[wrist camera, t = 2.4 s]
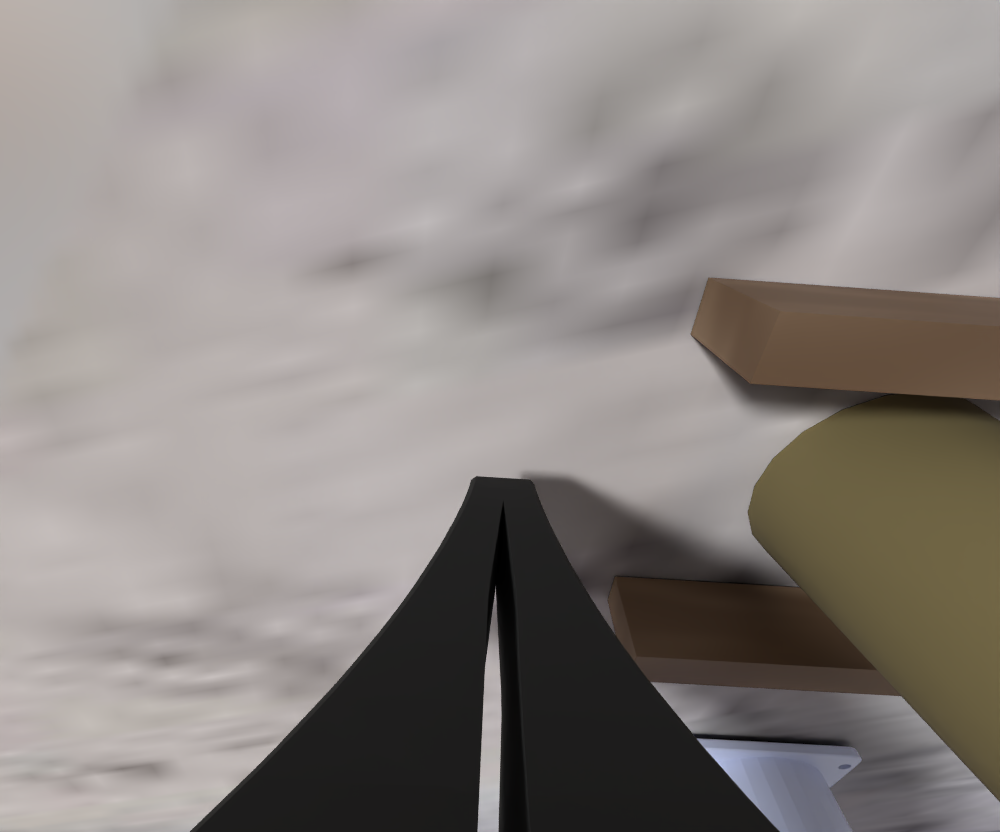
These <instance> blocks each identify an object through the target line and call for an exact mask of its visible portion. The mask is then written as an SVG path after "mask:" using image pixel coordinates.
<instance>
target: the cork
mask: <svg viewBox="0 0 1000 832" xmlns="http://www.w3.org/2000/svg"><path fill="white" fill-rule="evenodd" d="M748 515H749V520H750V525H751V530H752V535H753V536H754V537H755V538H756V539H757V541H758V542H759V543H760V544H761V545H762V547H763V548H764V549H765V550H766V551H767V552H768V554H769V555H770V556H771V557H772V558H773V559H774V560H775V561H776V562H777V563H778V564H779V565H780V566H781V567H782V569H783V570H784V571H785V572H786V573H787V574H788V575H789V576H790V577H791V578H792V579H793V580H794V581H795V583H796V584H797V585H798V586H799V587H800V588H801V589H802V590H803V591H804V592H805V593H806V594H807V595H808V596H809V598H810V599H811V600H812V601H813V602H814V603H815V604H816V605H817V606H818V607H819V608H820V609H821V610H822V611H823V613H824V614H825V615H826V616H827V617H828V618H829V619H830V620H831V621H832V622H833V623H834V624H835V625H836V627H837V628H838V629H839V630H840V631H841V632H842V633H843V634H844V635H845V636H846V637H847V638H848V639H849V640H850V642H851V643H852V644H853V645H854V646H855V647H856V648H857V649H858V650H859V651H860V652H861V653H862V654H863V655H864V657H865V658H866V659H867V660H868V661H869V662H870V663H871V664H872V665H873V666H874V667H875V668H876V669H877V671H878V672H879V673H880V674H881V675H882V676H883V677H884V678H885V679H886V680H887V681H888V682H889V683H890V684H891V686H892V687H893V688H894V689H895V690H896V691H897V692H898V693H899V694H900V695H901V696H902V697H903V698H904V699H905V701H906V702H907V703H908V704H909V705H910V706H911V707H912V708H913V709H914V710H915V711H916V712H917V713H918V715H919V716H920V717H921V718H922V719H923V720H924V721H925V722H926V723H927V724H928V725H929V726H930V727H931V728H932V730H933V731H934V732H935V733H936V734H937V735H938V736H939V737H940V738H941V739H942V740H943V741H944V742H945V743H946V745H947V746H948V747H949V748H950V749H951V750H952V751H953V752H954V753H955V754H956V755H957V756H958V757H959V759H960V760H961V761H962V762H963V763H964V764H965V765H966V766H967V767H968V768H969V769H970V770H971V771H972V772H973V774H974V775H975V776H976V777H977V778H978V779H979V780H980V781H981V782H982V783H983V784H984V785H985V786H986V787H987V789H988V790H989V791H990V792H991V793H992V794H993V795H994V796H995V797H996V798H997V799H998V800H999V801H1000V421H999V420H997V419H996V418H994V417H993V416H991V415H990V414H988V413H987V412H985V411H983V410H982V409H980V408H979V407H977V406H976V405H974V404H973V403H971V402H970V401H968V400H967V399H963V398H957V397H942V396H927V395H912V394H896V395H886V396H883V397H880V398H877V399H874V400H871V401H868V402H865V403H861V404H858V405H855V406H852V407H849V408H846V409H843V410H841V411H839V412H838V413H836V414H834V415H832V416H830V417H829V418H827V419H825V420H823V421H822V422H820V423H818V424H816V425H814V426H813V427H811V428H809V429H807V430H806V431H804V432H803V433H801V434H800V435H799V436H798V437H797V438H796V439H795V440H793V441H792V442H791V443H790V444H789V445H788V446H787V447H786V448H784V449H783V450H782V451H781V452H780V453H779V454H778V455H777V456H775V457H774V458H773V460H772V461H771V463H770V464H769V465H768V467H767V468H766V470H765V471H764V473H763V474H762V476H761V477H760V479H759V480H758V482H757V483H756V485H755V486H754V490H753V494H752V498H751V502H750V506H749V510H748Z"/></svg>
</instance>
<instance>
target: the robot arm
mask: <svg viewBox="0 0 1000 832" xmlns="http://www.w3.org/2000/svg"><path fill="white" fill-rule="evenodd" d="M495 587H496V599H497V618H498V638H499V657H500V676H501V706H502V723H501V763H500V801H499V832H853V831H852V829H851V827H850V825H849V824H848V822H847V820H846V818H845V816H844V814H843V812H842V810H841V809H840V807H839V805H838V803H837V801H836V799H835V797H834V795H833V793H832V792H831V790H830V787H832V786H833V785H834V784H835V783H836V782H838V781H839V780H840V779H841V778H842V777H844V776H845V775H846V774H847V773H848V772H850V771H851V770H852V769H853V768H854V767H856V766H857V765H858V764H859V763H860V762H861V761H862V758H861V756H860V755H859V753H858V751H857V750H856V749H855V748H853V747H848V746H830V745H811V744H793V743H775V742H756V741H738V740H720V739H702V738H696V737H695V736H694V735H693V734H692V733H691V731H690V730H689V729H688V728H687V726H686V725H685V724H684V723H683V722H682V720H681V719H680V718H679V717H678V715H677V714H676V713H675V712H674V711H673V709H672V708H671V707H670V706H669V704H668V703H667V702H666V701H665V700H664V698H663V697H662V696H661V695H660V693H659V692H658V691H657V690H656V689H655V687H654V686H653V685H652V684H651V682H650V681H649V680H648V679H647V677H646V676H645V675H644V673H643V672H642V671H641V669H640V668H639V667H638V665H637V664H636V663H635V661H634V660H633V659H632V657H631V656H630V654H629V653H628V652H627V650H626V649H625V648H624V646H623V645H622V644H621V642H620V641H619V639H618V638H617V636H616V635H615V634H614V632H613V631H612V629H611V628H610V626H609V625H608V624H607V622H606V621H605V619H604V618H603V616H602V615H601V613H600V612H599V610H598V608H597V607H596V605H595V604H594V602H593V601H592V599H591V598H590V596H589V594H588V593H587V591H586V589H585V588H584V586H583V584H582V583H581V581H580V579H579V578H578V576H577V574H576V573H575V571H574V569H573V567H572V566H571V564H570V562H569V560H568V558H567V556H566V555H565V553H564V551H563V549H562V547H561V545H560V543H559V541H558V539H557V537H556V536H555V534H554V531H553V529H552V527H551V525H550V523H549V521H548V519H547V516H546V514H545V512H544V510H543V507H542V505H541V502H540V500H539V497H538V494H537V492H536V489H535V485H534V483H533V482H532V481H531V480H526V479H510V478H494V477H478V476H476V477H475V478H473V479H472V480H471V483H470V486H469V489H468V492H467V494H466V497H465V499H464V502H463V504H462V506H461V508H460V510H459V512H458V514H457V516H456V518H455V520H454V522H453V524H452V525H451V527H450V529H449V531H448V532H447V534H446V536H445V538H444V540H443V541H442V543H441V545H440V547H439V548H438V550H437V552H436V553H435V555H434V556H433V558H432V559H431V561H430V562H429V564H428V565H427V567H426V568H425V570H424V572H423V573H422V575H421V576H420V578H419V579H418V581H417V582H416V584H415V585H414V587H413V588H412V589H411V591H410V592H409V594H408V595H407V596H406V598H405V599H404V601H403V602H402V603H401V605H400V606H399V607H398V609H397V610H396V611H395V613H394V614H393V615H392V616H391V618H390V619H389V620H388V622H387V623H386V624H385V626H384V627H383V628H382V629H381V631H380V632H379V633H378V634H377V636H376V637H375V638H374V639H373V640H372V642H371V643H370V644H369V645H368V646H367V648H366V649H365V650H364V651H363V652H362V654H361V655H360V656H359V657H358V658H357V660H356V661H355V662H354V663H353V664H352V666H351V667H350V668H349V669H348V670H347V671H346V673H345V674H344V675H343V676H342V677H341V678H340V679H339V681H338V682H337V683H336V684H335V685H334V686H333V687H332V688H331V689H330V691H329V692H328V693H327V694H326V695H325V696H324V697H323V698H322V699H321V700H320V701H319V702H318V703H317V704H316V705H315V707H314V708H313V709H312V710H311V711H310V712H309V713H308V714H307V715H306V716H305V717H304V718H303V719H302V720H301V721H300V722H299V724H298V725H297V726H296V727H295V728H294V729H293V730H292V731H291V732H290V733H289V734H288V735H287V736H286V737H285V738H284V739H283V741H282V742H281V743H280V744H279V745H278V746H277V747H276V748H275V749H274V750H273V751H272V752H271V753H270V754H269V755H268V756H267V757H266V758H265V759H264V760H263V761H262V762H261V763H260V764H259V765H258V766H257V767H256V768H255V769H254V770H253V771H252V772H251V773H250V774H249V775H248V776H247V777H246V778H245V779H244V780H243V781H242V782H241V783H240V784H239V785H238V786H237V787H236V788H235V789H233V790H232V791H231V792H230V793H229V794H228V795H227V796H226V797H225V798H224V799H223V800H222V801H221V802H220V803H219V804H218V805H217V806H216V807H215V808H214V809H213V810H212V811H211V812H210V813H209V814H208V815H207V816H206V817H204V818H203V819H202V820H201V821H200V822H199V823H198V824H197V825H196V826H195V827H194V828H193V829H192V830H191V831H190V832H477V828H478V805H479V783H480V761H481V739H482V717H483V695H484V674H485V662H486V655H487V647H488V640H489V632H490V625H491V617H492V610H493V602H494V595H495Z"/></svg>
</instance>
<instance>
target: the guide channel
mask: <svg viewBox="0 0 1000 832" xmlns="http://www.w3.org/2000/svg"><path fill="white" fill-rule="evenodd" d="M691 335H692V336H693V337H694V338H696V339H697V340H698V341H699V342H700V343H702V344H703V345H704V346H705V347H706V348H708V349H709V350H710V351H711V352H712V353H714V354H715V355H716V356H717V357H719V358H720V359H721V360H722V361H723V362H725V363H726V364H727V365H728V366H729V367H731V368H732V369H733V370H734V371H735V372H737V373H738V374H739V375H740V376H741V377H743V378H744V379H745V380H746V381H747V382H749V383H750V384H762V385H777V386H792V387H807V388H822V389H837V390H852V391H867V392H882V393H897V394H912V395H927V396H942V397H957V398H972V399H987V400H1000V298H992V297H977V296H963V295H949V294H935V293H920V292H906V291H892V290H878V289H863V288H849V287H835V286H821V285H806V284H792V283H778V282H763V281H749V280H735V279H721V278H708V281H707V284H706V287H705V290H704V294H703V297H702V300H701V303H700V306H699V310H698V313H697V316H696V319H695V322H694V326H693V329H692V332H691ZM608 604H609V608H610V612H611V617H612V621H613V625H614V629H615V634H616V636H617V638H618V639H619V641H620V642H621V644H622V645H623V646H624V648H625V649H626V650H627V652H628V653H629V654H630V656H631V657H632V659H633V660H634V661H635V663H636V664H637V665H638V667H639V668H640V669H641V671H642V672H643V673H644V675H645V676H646V677H647V679H648V680H649V681H650V682H662V683H679V684H697V685H715V686H733V687H750V688H768V689H786V690H803V691H821V692H839V693H857V694H874V695H892V696H901V695H900V694H899V693H898V692H897V691H896V690H895V689H894V688H893V687H892V686H891V684H890V683H889V682H888V681H887V680H886V679H885V678H884V677H883V676H882V675H881V674H880V673H879V672H878V671H877V669H876V668H875V667H874V666H873V665H872V664H871V663H870V662H869V661H868V660H867V659H866V658H865V657H864V655H863V654H862V653H861V652H860V651H859V650H858V649H857V648H856V647H855V646H854V645H853V644H852V643H851V642H850V640H849V639H848V638H847V637H846V636H845V635H844V634H843V633H842V632H841V631H840V630H839V629H838V628H837V627H836V625H835V624H834V623H833V622H832V621H831V620H830V619H829V618H828V617H827V616H826V615H825V614H824V613H823V611H822V610H821V609H820V608H819V607H818V606H817V605H816V604H815V603H814V602H813V601H812V600H811V599H810V598H809V596H808V595H807V594H806V593H805V592H804V591H803V590H802V589H801V588H800V587H783V586H766V585H749V584H733V583H716V582H699V581H683V580H666V579H649V578H633V577H616V576H615V578H614V581H613V585H612V588H611V591H610V594H609V597H608Z"/></svg>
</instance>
